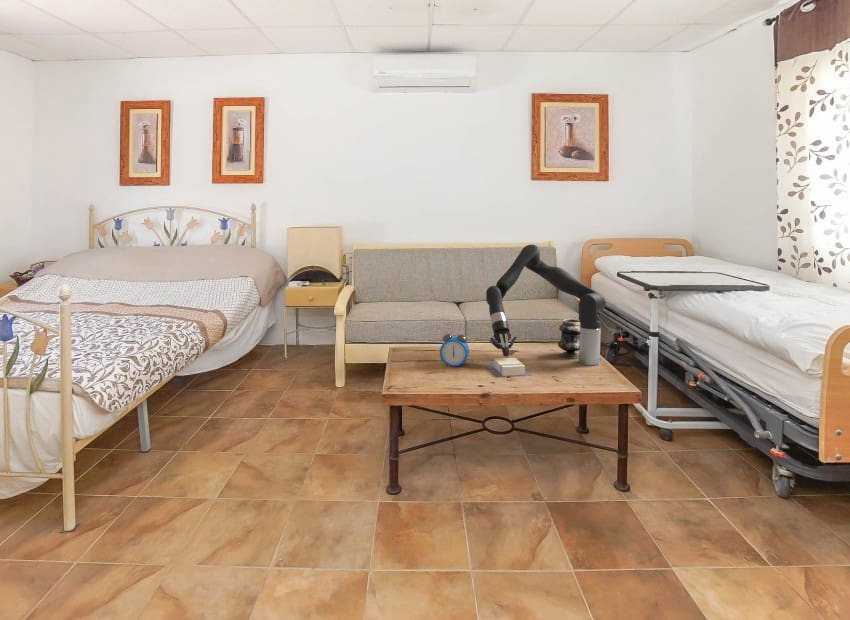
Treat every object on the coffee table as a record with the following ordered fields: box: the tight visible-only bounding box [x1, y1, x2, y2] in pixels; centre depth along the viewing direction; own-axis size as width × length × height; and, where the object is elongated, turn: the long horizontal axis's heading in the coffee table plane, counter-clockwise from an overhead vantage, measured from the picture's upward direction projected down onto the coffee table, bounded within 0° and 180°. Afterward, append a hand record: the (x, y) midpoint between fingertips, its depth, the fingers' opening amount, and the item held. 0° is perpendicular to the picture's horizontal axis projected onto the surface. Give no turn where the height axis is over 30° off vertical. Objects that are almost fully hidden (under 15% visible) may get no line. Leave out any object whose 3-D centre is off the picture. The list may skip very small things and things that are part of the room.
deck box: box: [493, 357, 526, 377], centre depth 236 cm, size 4×10×14 cm
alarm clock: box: [439, 333, 470, 368], centre depth 246 cm, size 13×6×15 cm, turn 77°
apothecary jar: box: [557, 318, 580, 359], centre depth 261 cm, size 12×12×18 cm
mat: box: [483, 362, 532, 378], centre depth 240 cm, size 22×16×1 cm
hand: (506, 355), depth 239 cm, fingers closed
